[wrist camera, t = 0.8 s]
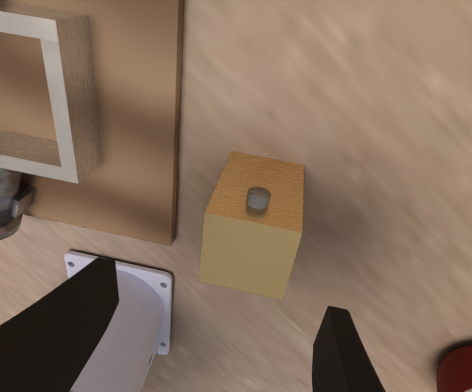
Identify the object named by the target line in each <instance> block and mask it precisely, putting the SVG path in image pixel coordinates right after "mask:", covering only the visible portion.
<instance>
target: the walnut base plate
mask: <svg viewBox="0 0 472 392" xmlns="http://www.w3.org/2000/svg"><path fill="white" fill-rule="evenodd" d="M3 1H9V2H15V3H21V4H27V5H33V6H39V7H45V8H51V9H57V10H63V11H69V12H76V13H82V14H88V15H89V25H90V36H91V47H92V57H93V68H94V79H95V89H96V100H97V111H98V121H99V132H100V142H101V153H102V163H101V164H100V165H99V166H98V167H97V168H95V169H94V170H93V171H92V172H91V173H90V174H89V175H88V176H87V177H85V178H84V179H83V180H82V181H81V182H80V183H79V184H77V183H72V182H67V181H63V180H58V179H53V178H48V177H43V176H38V175H33V174H29V173H24V172H22V173H21V179H20V180H21V181H23V182H25V183H27V184H29V185H31V186H33V187H35V188H36V192H35V197H34V202H33V204H32V205H31V206H30V207H29V208H27V209H26V210H25V211H24V212H23V213H22V214H25V215H30V216H34V217H39V218H43V219H48V220H53V221H57V222H62V223H67V224H71V225H76V226H80V227H85V228H90V229H94V230H99V231H103V232H108V233H113V234H117V235H122V236H127V237H131V238H136V239H140V240H145V241H150V242H154V243H159V244H164V245H168V246H171V245H172V243H173V241H174V239H175V224H176V197H177V171H178V145H179V118H180V92H181V66H182V39H183V13H184V0H3ZM0 130H4V131H9V132H14V133H19V134H24V135H29V136H34V137H39V138H45V139H50V140H55V141H57V137H56V131H55V125H54V119H53V113H52V107H51V101H50V95H49V89H48V83H47V77H46V71H45V65H44V59H43V53H42V47H41V41H40V39H38V38H33V37H27V36H21V35H15V34H10V33H4V32H0Z"/></svg>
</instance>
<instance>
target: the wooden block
mask: <svg viewBox="0 0 472 392" xmlns="http://www.w3.org/2000/svg"><path fill="white" fill-rule="evenodd" d="M303 191H304V165H301V164H295V163H290V162H285V161H280V160H275V159H269V158H264V157H259V156H254V155H248V154H243V153H238V152H233V151H232V152H231V154H230V156H229V159H228V161H227V163H226V165H225V168H224V170H223V172H222V174H221V177H220V179H219V181H218V183H217V186H216V188H215V190H214V192H213V195H212V197H211V199H210V201H209V204H208V206H207V208H206V210H205V214H204V224H203V235H202V246H201V257H200V268H199V278H198V281H199V282H204V283H208V284H212V285H217V286H221V287H226V288H230V289H235V290H239V291H244V292H248V293H253V294H257V295H262V296H266V297H271V298H275V299H280V300H283V298H284V294H285V291H286V287H287V284H288V280H289V277H290V274H291V270H292V267H293V263H294V260H295V256H296V253H297V250H298V246H299V243H300V239H301V236H302V231H303Z"/></svg>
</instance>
